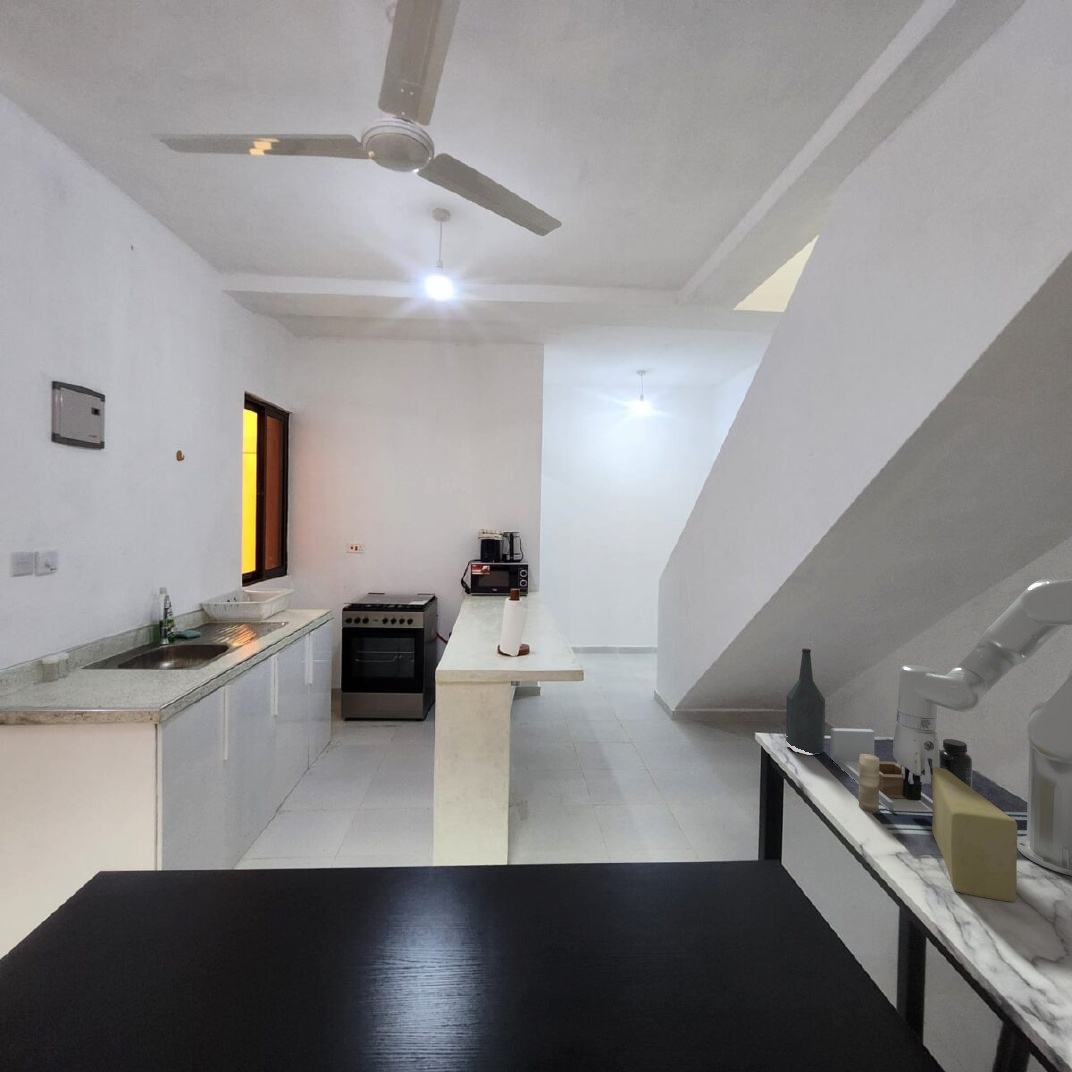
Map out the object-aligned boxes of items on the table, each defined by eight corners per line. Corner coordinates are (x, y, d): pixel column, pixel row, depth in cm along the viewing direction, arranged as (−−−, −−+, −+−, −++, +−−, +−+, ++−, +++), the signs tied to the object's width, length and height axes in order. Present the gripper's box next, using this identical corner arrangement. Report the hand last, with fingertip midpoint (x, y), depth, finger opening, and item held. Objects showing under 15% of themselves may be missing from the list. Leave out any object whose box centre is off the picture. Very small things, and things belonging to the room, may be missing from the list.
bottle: (830, 756, 156) (832, 653, 156) (796, 756, 156) (797, 652, 156) (813, 742, 167) (814, 645, 166) (780, 742, 167) (782, 644, 166)
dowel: (882, 812, 125) (883, 761, 125) (864, 812, 126) (865, 760, 125) (872, 803, 129) (873, 754, 129) (855, 803, 130) (856, 753, 129)
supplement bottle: (959, 783, 140) (960, 737, 140) (978, 796, 133) (979, 748, 133) (931, 782, 141) (932, 736, 141) (948, 795, 134) (949, 747, 134)
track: (937, 812, 126) (938, 773, 126) (888, 810, 126) (889, 772, 126) (870, 760, 154) (870, 729, 154) (830, 759, 154) (830, 728, 154)
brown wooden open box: (917, 798, 131) (917, 777, 131) (882, 797, 131) (883, 776, 131) (894, 781, 140) (894, 761, 140) (862, 780, 140) (862, 760, 140)
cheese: (909, 828, 119) (910, 760, 119) (962, 836, 116) (963, 767, 116) (952, 893, 98) (953, 810, 98) (1018, 905, 95) (1020, 820, 95)
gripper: (956, 734, 117) (951, 817, 118) (912, 709, 132) (907, 783, 133) (920, 732, 118) (915, 815, 118) (880, 708, 133) (876, 781, 133)
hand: (911, 798), depth 126 cm, fingers closed
